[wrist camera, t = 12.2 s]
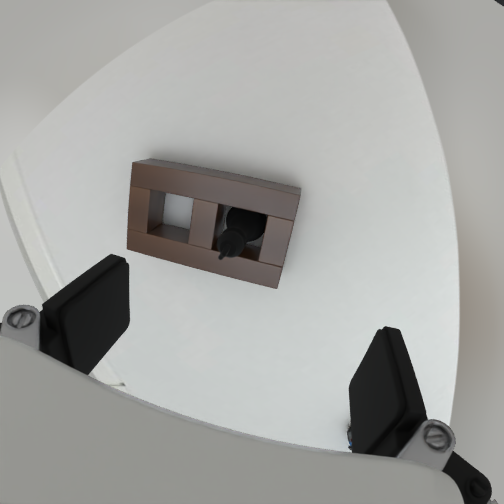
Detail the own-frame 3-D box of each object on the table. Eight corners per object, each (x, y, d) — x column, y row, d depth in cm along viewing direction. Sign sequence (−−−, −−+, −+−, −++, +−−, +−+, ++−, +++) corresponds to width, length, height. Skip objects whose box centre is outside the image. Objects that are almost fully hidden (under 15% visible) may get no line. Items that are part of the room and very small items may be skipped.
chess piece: (219, 225, 34) (187, 259, 25) (241, 193, 33) (214, 216, 23) (252, 248, 35) (231, 290, 25) (275, 217, 33) (261, 250, 24)
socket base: (150, 158, 33) (132, 162, 29) (301, 188, 31) (300, 195, 28) (142, 238, 36) (126, 249, 33) (280, 272, 35) (277, 289, 31)
